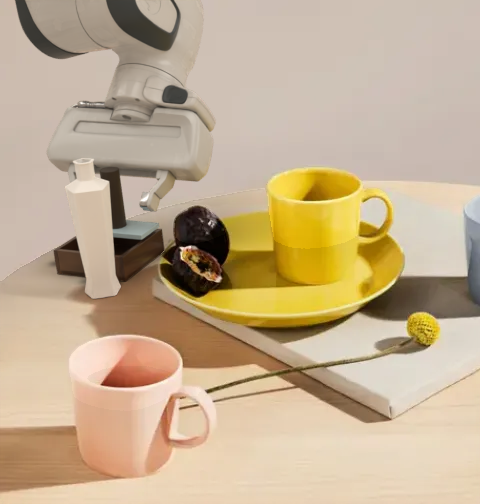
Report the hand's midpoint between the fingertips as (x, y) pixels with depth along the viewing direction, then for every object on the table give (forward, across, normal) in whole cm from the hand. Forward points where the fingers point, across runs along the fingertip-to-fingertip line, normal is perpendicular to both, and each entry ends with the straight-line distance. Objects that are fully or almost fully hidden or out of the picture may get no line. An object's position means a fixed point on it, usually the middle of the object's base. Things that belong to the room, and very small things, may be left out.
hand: (111, 206), depth 111 cm
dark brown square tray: (+6, 0, +4) cm, 7 cm away
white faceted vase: (+11, +3, -2) cm, 12 cm away
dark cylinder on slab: (+2, 0, +3) cm, 3 cm away
